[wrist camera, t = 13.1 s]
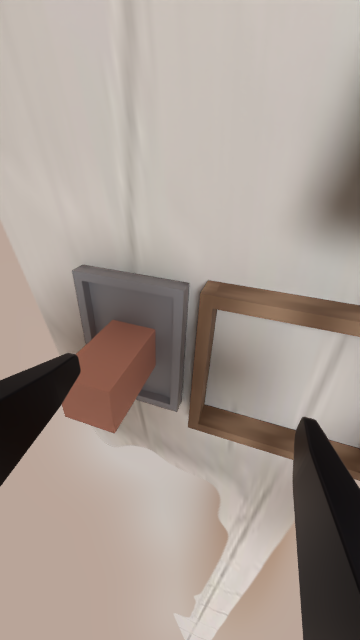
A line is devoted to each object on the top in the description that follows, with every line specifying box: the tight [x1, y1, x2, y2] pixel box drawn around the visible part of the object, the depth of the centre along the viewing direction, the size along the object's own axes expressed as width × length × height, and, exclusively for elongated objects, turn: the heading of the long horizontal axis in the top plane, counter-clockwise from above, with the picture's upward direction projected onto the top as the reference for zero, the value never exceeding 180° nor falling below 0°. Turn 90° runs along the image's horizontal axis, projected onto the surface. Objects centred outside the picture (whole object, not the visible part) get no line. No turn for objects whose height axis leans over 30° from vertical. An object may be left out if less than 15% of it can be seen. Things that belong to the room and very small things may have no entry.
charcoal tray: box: [72, 265, 189, 412], centre depth 25 cm, size 10×14×2 cm
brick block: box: [62, 320, 156, 433], centre depth 22 cm, size 4×4×8 cm
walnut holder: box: [188, 280, 360, 481], centre depth 21 cm, size 17×15×2 cm
